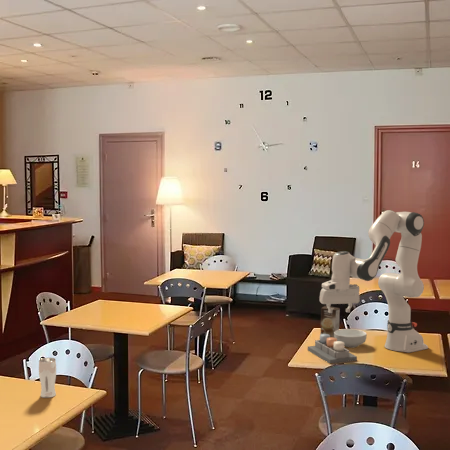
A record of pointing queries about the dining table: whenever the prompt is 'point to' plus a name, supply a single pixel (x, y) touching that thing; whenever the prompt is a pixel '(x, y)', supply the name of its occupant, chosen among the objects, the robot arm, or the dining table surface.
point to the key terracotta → (331, 342)
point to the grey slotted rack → (331, 353)
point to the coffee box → (329, 321)
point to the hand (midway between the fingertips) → (339, 312)
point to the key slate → (324, 338)
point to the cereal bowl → (350, 337)
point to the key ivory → (338, 346)
